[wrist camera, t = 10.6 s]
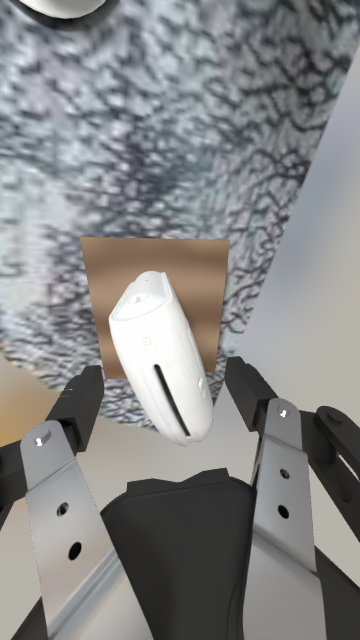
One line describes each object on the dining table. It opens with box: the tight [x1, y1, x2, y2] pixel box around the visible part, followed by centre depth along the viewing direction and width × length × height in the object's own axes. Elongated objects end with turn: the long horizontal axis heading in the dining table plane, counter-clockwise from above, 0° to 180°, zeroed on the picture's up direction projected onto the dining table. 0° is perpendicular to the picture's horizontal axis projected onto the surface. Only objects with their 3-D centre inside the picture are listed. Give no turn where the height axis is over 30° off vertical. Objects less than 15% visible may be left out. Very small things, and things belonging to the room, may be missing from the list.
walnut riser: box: [80, 237, 230, 379], centre depth 22 cm, size 16×14×4 cm
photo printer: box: [109, 271, 213, 447], centre depth 15 cm, size 10×4×12 cm, turn 17°
